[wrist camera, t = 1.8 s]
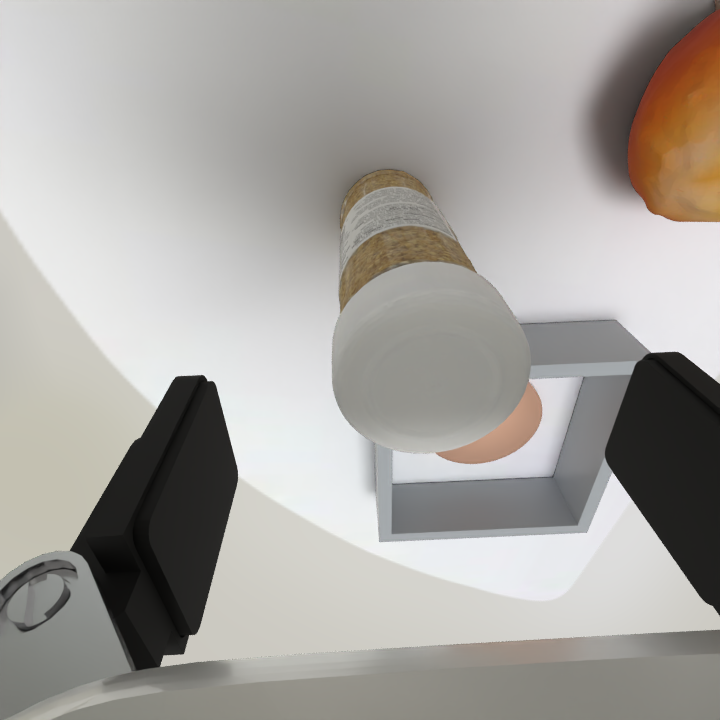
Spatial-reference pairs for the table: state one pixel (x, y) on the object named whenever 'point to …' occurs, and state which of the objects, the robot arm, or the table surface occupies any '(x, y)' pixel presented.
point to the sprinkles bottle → (418, 326)
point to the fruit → (681, 130)
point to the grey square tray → (529, 495)
